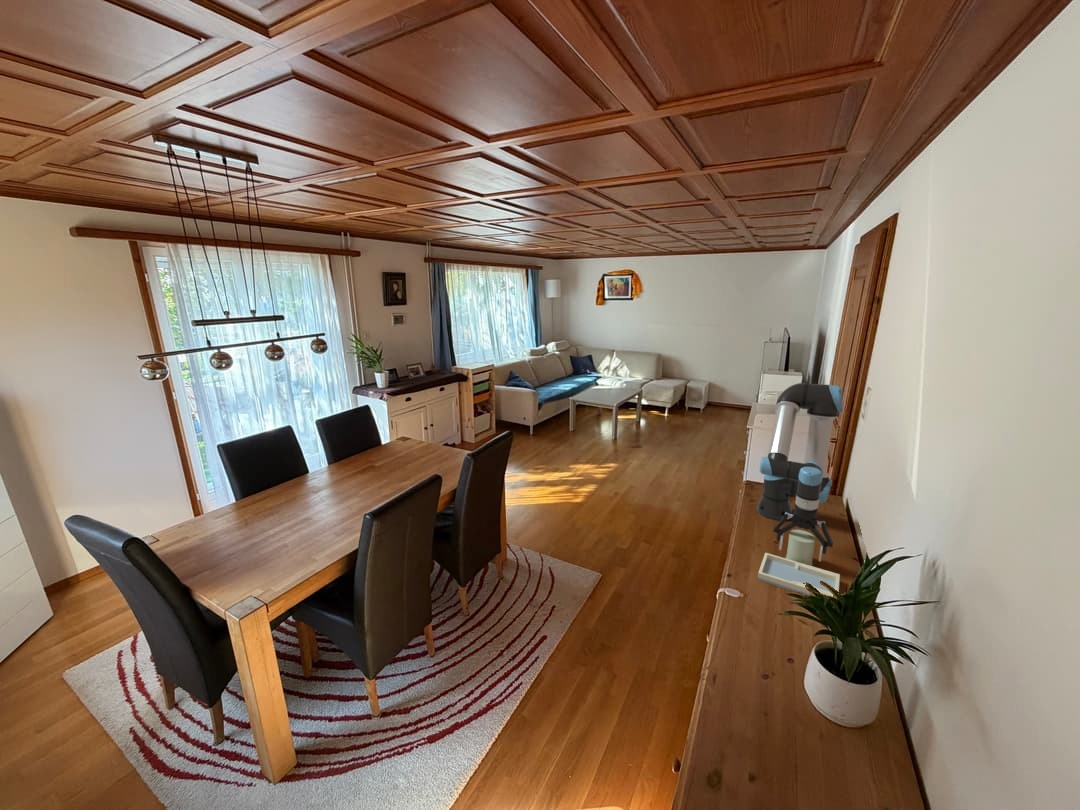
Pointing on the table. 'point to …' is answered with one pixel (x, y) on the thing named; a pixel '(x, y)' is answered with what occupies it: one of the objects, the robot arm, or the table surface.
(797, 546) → the can
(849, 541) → the table surface
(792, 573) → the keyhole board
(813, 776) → the table surface
